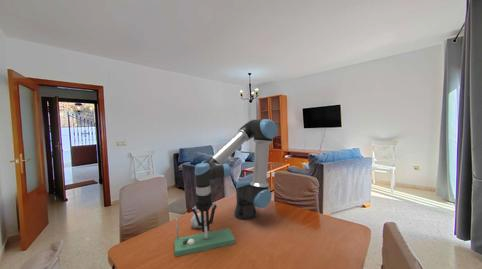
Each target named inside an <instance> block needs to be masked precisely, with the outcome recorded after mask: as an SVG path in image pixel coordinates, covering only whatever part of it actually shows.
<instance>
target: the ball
mask: <svg viewBox="0 0 482 269" xmlns="http://www.w3.org/2000/svg"><path fill="white" fill-rule="evenodd" d="M193 243H195V241H194V239H189V240H188V241H187V244H186V246H188V245H192V244H193Z"/></svg>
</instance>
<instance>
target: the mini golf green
mask: <svg viewBox="0 0 482 269" xmlns="http://www.w3.org/2000/svg"><path fill="white" fill-rule="evenodd" d="M175 230H176V231H175V232H176V238H174V257H175V258H176V257H180V256H186V255H191V254H193V253H195V254H196V253H199V252H204V251H208V250H213V249H217V248H223V247H227V246H231V245H235V244H236V238H235V237H234V236H235V235H233V232H232V230H231V228H230V227H227V228H224V229H217V230H213V231H207V232H208V238H206V239H205V237H204V232H201V233H196V234H191V235H188V236H187V235H186V236H181V237H179V225H178V217H175ZM189 239H194V241H195V243H193V244H192V245H188V246H187V241H188V240H189Z"/></svg>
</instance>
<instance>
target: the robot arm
mask: <svg viewBox="0 0 482 269" xmlns="http://www.w3.org/2000/svg"><path fill="white" fill-rule="evenodd" d="M277 133H278V128H277V125H276V123H275V121H273V120H272V119H269V118H260V119H251V120H249V121H248V122H246V123H245V124H244V125H242V126H240V128H239V129H238V130H237V133H235V134H234V136H232V137H231V138H230V139H229V140H228V141H227V142H226V143H225V144H223V145H222V146H221V147H220V148H219V149H218V150H217V151H216V152H215V153H214V154H213V155H212V156H210V157H209V158H207V160H202V161H201V163H197V164H195V166H194V179H195V194H196V195H195V196H196V197H195V198H196V204H195V205H194V207H191V211H192V212H193V215H194V214H195V217H196V220H197V223H198V226H202V228H201V233H204V237H205V239H206V238H208V232H210V225H213V223H214V217H215V212H216V209H217V207H218V206H217V204H216V203H213V201H212V191H211V190H212V187H211V182H212V181H215V180H221V179H225V178H228V177H230V175H231V167H230V164H228V163H224V162H225V161H227V159H229V157H231V156H232V155H233V154H234V153H235V152H236V151H237V150H238V149H239V148H240V147H241V146H242V145H243V144H244V143H245V142H248V141H249V140H251V139H253V141H254V142H255V146H254V147H255V148H254V160H253V170H252V171H253V173H252V179H249V180H248V179H247V180H241V181H237V182H236V183H235V192H236V193H235V195H236V197H235V198H236V205H235V208H234V210H233V211H234V212H233V214H234V218H236V219H238V220H252V219H254V218H256V217H257V215H258V214H257V209H256V208H259V209H264V208H267V207H268V206H269V204H270V202H271V200H272V198H273V197H272V196H273V195H272V193H271V191H270V190H269V184H268V182H267V178H268V164H269V157H270V156H269V154H270V153H269V152H270V144H271V143H272V142H273V139H274V138H275V137H276V135H277ZM210 209H211V212H210V214H209V210H210ZM198 211H199V212H200V213H201V222H200V220H199V217H198V214H197V213H198ZM204 213H205V214H204ZM204 216H205V218H206V221H205V224H204Z"/></svg>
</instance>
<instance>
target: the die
mask: <svg viewBox="0 0 482 269" xmlns="http://www.w3.org/2000/svg"><path fill="white" fill-rule="evenodd" d="M197 214H198V217H199V220H200V222H201V212H197ZM190 223H191V225H192V227H193V229H202V226H198V223H197V220H196V217H195V214H194V213H193V215H192V217H191V219H190ZM204 224H206V215H204Z"/></svg>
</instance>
